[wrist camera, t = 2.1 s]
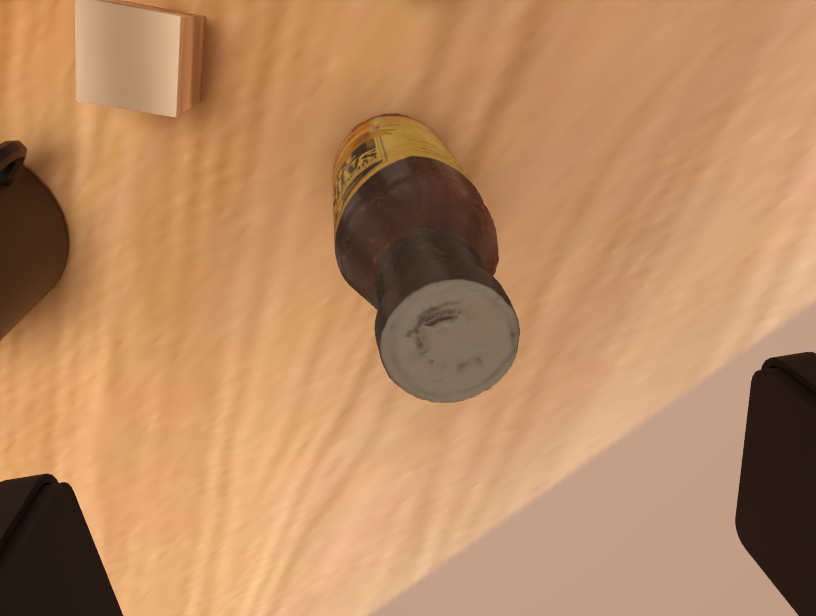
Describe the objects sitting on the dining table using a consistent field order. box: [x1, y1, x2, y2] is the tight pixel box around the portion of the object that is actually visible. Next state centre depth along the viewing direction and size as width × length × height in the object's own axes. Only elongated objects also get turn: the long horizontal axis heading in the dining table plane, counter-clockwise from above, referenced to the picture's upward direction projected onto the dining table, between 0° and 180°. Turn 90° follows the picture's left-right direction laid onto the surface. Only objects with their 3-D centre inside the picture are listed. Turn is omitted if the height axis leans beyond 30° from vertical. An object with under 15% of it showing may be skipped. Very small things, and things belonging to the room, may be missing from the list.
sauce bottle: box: [333, 114, 520, 403], centre depth 27 cm, size 7×6×20 cm
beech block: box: [75, 0, 205, 117], centre depth 30 cm, size 4×4×6 cm
